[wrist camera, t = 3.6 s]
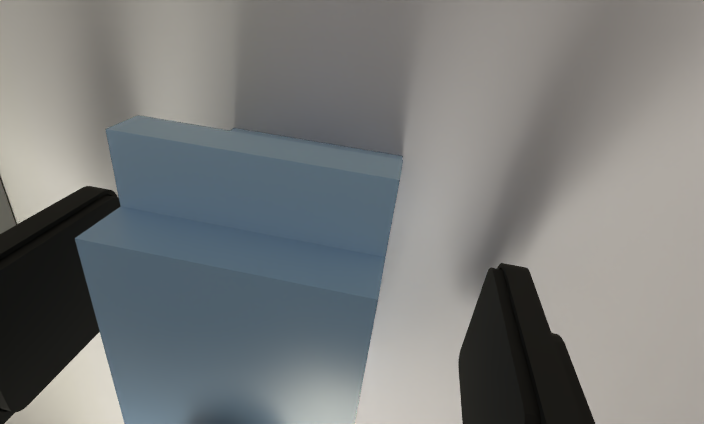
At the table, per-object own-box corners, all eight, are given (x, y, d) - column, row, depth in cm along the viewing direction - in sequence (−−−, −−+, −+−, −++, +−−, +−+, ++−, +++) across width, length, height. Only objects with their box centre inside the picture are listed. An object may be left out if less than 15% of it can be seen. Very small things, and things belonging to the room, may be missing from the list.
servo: (413, 102, 9) (387, 256, 4) (363, 368, 13) (318, 613, 8) (233, 74, 9) (-15, 179, 4) (242, 342, 13) (125, 558, 8)
